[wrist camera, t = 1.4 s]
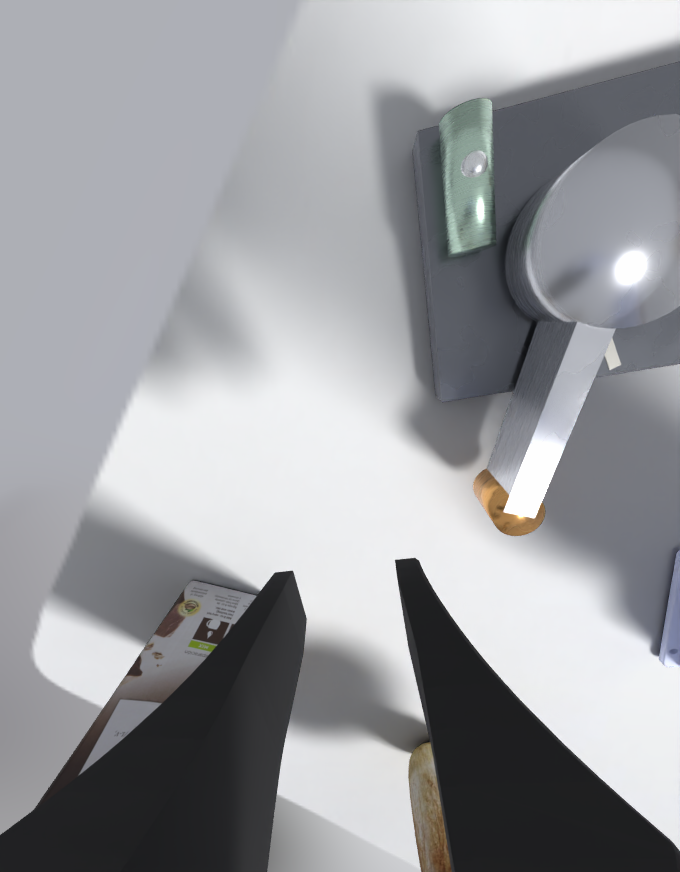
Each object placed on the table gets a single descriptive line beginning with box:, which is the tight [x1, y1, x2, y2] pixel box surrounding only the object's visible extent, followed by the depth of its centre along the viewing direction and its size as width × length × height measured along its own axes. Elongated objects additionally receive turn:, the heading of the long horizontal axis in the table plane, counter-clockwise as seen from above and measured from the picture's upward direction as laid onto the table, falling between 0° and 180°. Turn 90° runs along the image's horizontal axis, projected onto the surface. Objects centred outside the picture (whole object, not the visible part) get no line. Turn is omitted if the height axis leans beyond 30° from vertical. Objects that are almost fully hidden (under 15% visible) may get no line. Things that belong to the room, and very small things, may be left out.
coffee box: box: [34, 581, 256, 810], centre depth 17 cm, size 9×6×16 cm
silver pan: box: [473, 114, 680, 536], centre depth 13 cm, size 15×6×3 cm, turn 171°
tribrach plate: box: [413, 62, 680, 402], centre depth 13 cm, size 11×12×4 cm
